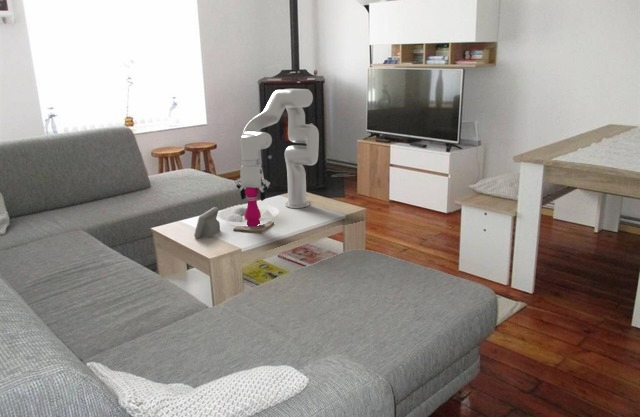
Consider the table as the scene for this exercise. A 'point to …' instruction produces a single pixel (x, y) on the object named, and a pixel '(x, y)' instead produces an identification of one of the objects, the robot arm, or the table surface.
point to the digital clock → (207, 224)
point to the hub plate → (254, 228)
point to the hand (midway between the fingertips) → (253, 199)
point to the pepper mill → (252, 207)
